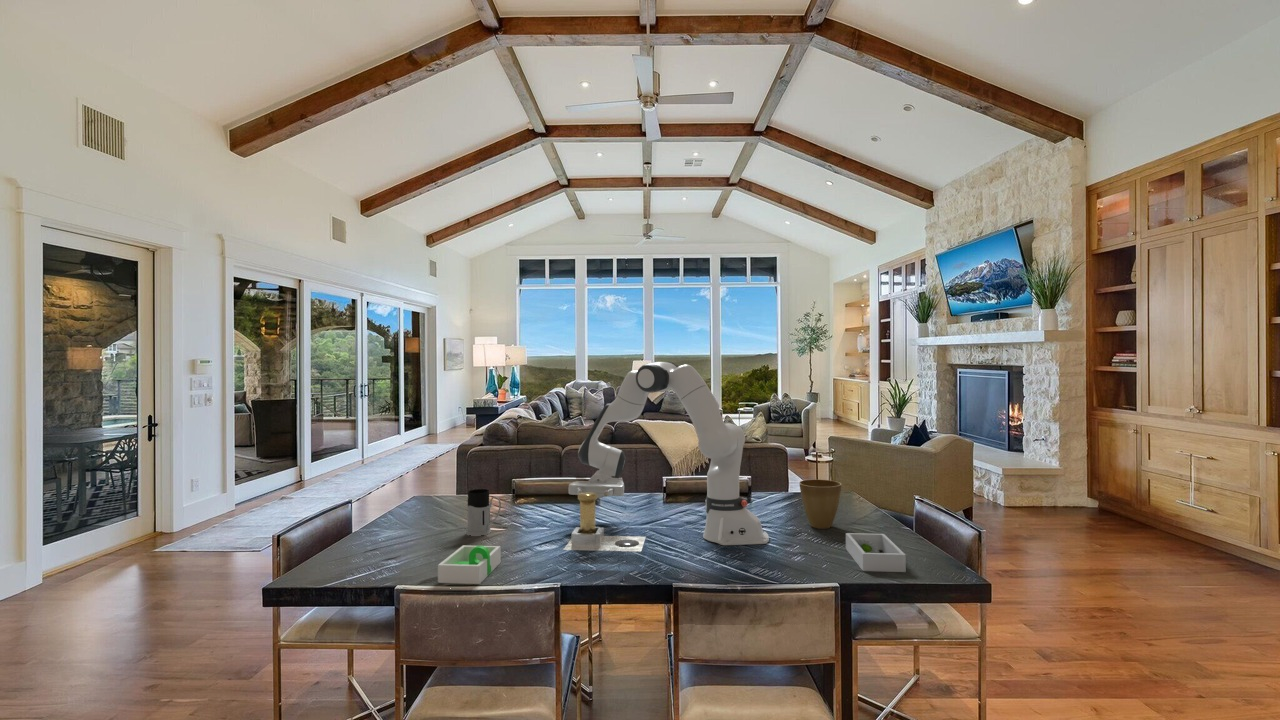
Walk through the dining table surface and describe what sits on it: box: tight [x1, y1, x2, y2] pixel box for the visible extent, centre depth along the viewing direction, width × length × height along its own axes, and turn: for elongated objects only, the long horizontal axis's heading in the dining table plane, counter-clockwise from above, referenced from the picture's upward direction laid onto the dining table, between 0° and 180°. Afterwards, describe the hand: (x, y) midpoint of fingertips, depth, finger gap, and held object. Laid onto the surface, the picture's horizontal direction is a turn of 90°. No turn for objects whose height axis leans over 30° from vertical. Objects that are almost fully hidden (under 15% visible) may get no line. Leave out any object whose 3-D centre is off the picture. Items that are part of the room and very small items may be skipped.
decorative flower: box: [856, 539, 881, 553], centre depth 185 cm, size 8×6×15 cm
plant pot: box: [798, 478, 842, 530], centre depth 224 cm, size 15×15×16 cm
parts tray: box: [437, 544, 502, 585], centre depth 179 cm, size 12×18×5 cm, turn 174°
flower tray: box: [845, 532, 907, 573], centre depth 186 cm, size 12×21×5 cm, turn 174°
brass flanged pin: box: [577, 492, 598, 533], centre depth 201 cm, size 6×6×16 cm
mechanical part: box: [456, 545, 492, 576], centre depth 179 cm, size 12×6×8 cm, turn 87°
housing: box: [563, 526, 647, 553], centre depth 201 cm, size 25×16×6 cm, turn 84°
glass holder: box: [466, 488, 502, 537], centre depth 218 cm, size 9×14×15 cm, turn 64°
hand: (593, 493), depth 214 cm, fingers open, 8 cm apart
